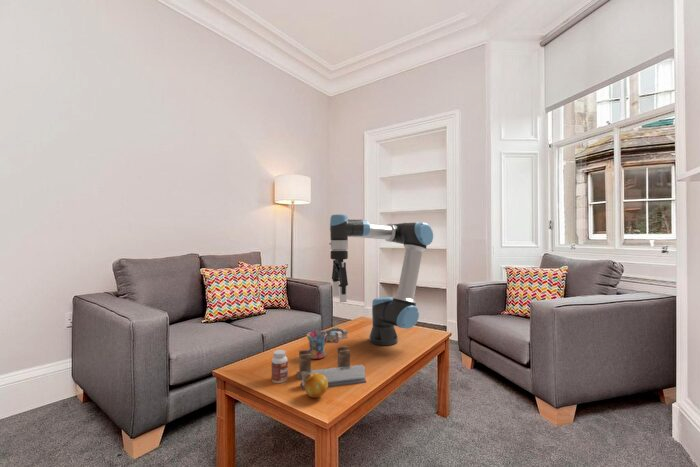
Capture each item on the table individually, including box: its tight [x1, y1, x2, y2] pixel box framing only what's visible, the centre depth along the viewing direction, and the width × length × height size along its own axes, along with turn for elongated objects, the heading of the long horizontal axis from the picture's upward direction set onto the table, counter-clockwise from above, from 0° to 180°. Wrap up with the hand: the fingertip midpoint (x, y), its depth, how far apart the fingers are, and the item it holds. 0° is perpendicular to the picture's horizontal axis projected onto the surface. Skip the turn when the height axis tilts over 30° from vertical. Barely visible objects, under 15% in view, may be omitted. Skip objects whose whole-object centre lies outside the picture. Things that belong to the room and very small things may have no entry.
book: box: [322, 326, 349, 343], centre depth 179 cm, size 20×12×5 cm, turn 138°
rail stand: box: [296, 345, 351, 381], centre depth 135 cm, size 22×6×9 cm, turn 105°
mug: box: [306, 330, 328, 360], centre depth 155 cm, size 12×9×11 cm
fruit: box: [304, 373, 329, 399], centre depth 116 cm, size 8×8×8 cm
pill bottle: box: [271, 349, 289, 384], centre depth 129 cm, size 6×6×11 cm
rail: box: [301, 364, 366, 388], centre depth 127 cm, size 24×3×4 cm, turn 105°
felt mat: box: [301, 378, 367, 391], centre depth 127 cm, size 24×6×1 cm, turn 105°
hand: (339, 298), depth 144 cm, fingers open, 13 cm apart
